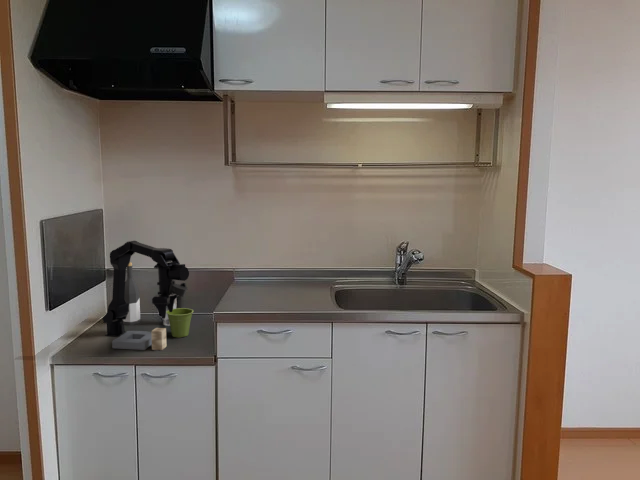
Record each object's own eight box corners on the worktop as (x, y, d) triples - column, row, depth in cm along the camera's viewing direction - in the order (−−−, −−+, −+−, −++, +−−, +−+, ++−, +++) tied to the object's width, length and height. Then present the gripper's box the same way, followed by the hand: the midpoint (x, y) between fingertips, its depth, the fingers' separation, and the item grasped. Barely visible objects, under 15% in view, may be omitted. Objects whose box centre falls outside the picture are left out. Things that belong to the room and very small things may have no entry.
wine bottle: (124, 320, 232) (121, 261, 229) (141, 319, 234) (139, 261, 231) (121, 325, 225) (119, 264, 221) (139, 324, 227) (137, 263, 223)
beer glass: (163, 326, 224) (162, 296, 222) (161, 322, 230) (160, 293, 228) (178, 324, 227) (177, 294, 225) (175, 321, 233) (175, 291, 232)
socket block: (112, 348, 195) (112, 341, 195) (129, 337, 209) (128, 330, 209) (144, 349, 194) (144, 342, 194) (159, 338, 208) (158, 332, 207)
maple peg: (151, 349, 194) (151, 331, 193) (156, 345, 199) (156, 327, 198) (162, 350, 194) (161, 331, 193) (166, 346, 198) (166, 328, 197)
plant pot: (194, 338, 209) (194, 314, 207) (166, 340, 205) (166, 315, 204) (193, 330, 220) (192, 307, 218) (166, 332, 216) (166, 308, 215)
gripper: (178, 283, 187) (180, 321, 189) (190, 274, 206) (192, 308, 208) (150, 283, 187) (152, 321, 189) (165, 274, 206) (167, 309, 208)
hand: (167, 314), depth 198 cm, fingers open, 9 cm apart
